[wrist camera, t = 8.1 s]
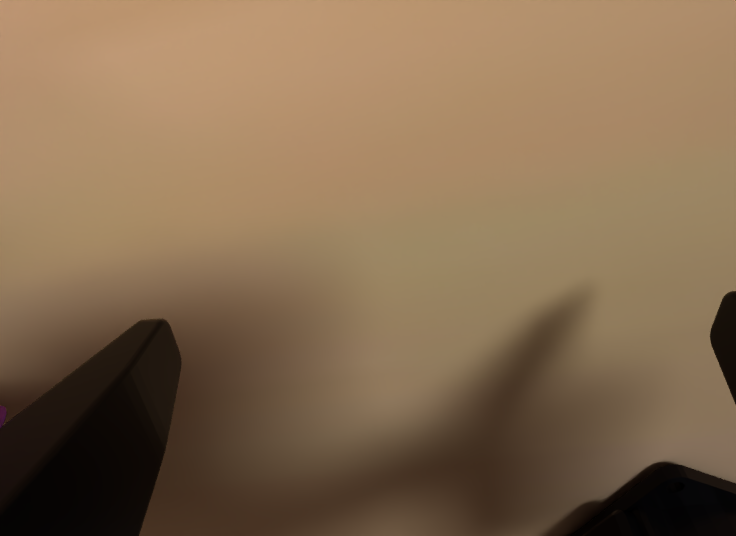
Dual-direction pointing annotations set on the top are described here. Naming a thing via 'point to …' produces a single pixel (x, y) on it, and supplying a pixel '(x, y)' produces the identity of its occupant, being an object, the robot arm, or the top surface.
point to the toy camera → (2, 415)
